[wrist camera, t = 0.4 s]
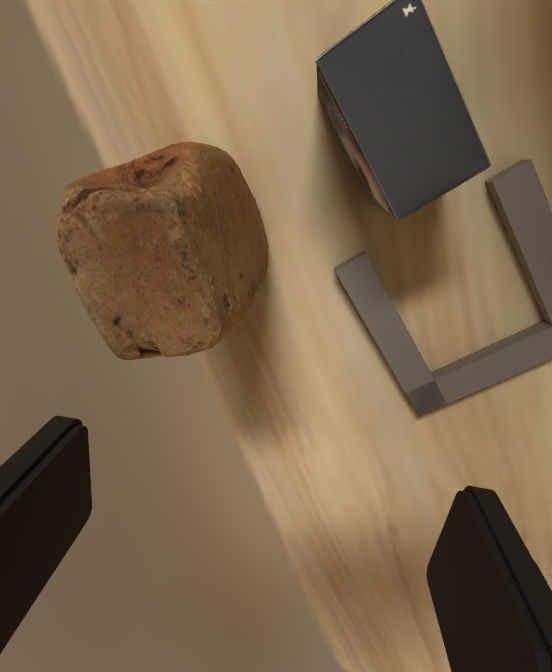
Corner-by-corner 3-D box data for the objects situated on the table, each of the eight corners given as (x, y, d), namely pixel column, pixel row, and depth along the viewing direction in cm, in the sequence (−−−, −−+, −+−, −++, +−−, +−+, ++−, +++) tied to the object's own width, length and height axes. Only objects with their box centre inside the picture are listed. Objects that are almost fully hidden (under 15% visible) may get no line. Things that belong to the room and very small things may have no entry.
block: (276, 267, 38) (239, 359, 19) (201, 285, 39) (98, 388, 21) (244, 142, 34) (158, 107, 16) (162, 167, 35) (-7, 162, 17)
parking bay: (521, 160, 33) (531, 159, 31) (589, 331, 37) (600, 337, 36) (334, 267, 37) (335, 271, 36) (415, 408, 42) (418, 416, 40)
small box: (310, 91, 32) (308, 57, 23) (385, 36, 30) (418, -27, 21) (373, 210, 35) (395, 224, 25) (445, 165, 33) (498, 163, 24)
